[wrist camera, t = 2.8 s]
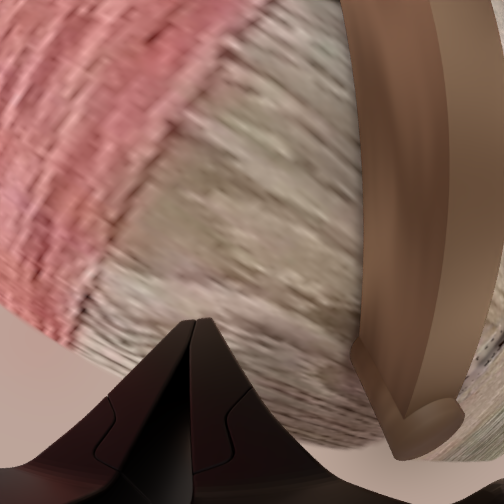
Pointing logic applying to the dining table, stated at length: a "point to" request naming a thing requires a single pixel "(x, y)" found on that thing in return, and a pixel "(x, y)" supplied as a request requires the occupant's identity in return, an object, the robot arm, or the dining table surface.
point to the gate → (426, 205)
